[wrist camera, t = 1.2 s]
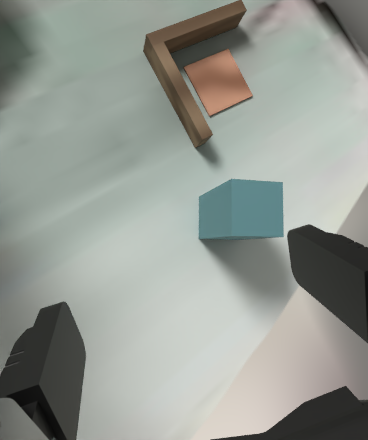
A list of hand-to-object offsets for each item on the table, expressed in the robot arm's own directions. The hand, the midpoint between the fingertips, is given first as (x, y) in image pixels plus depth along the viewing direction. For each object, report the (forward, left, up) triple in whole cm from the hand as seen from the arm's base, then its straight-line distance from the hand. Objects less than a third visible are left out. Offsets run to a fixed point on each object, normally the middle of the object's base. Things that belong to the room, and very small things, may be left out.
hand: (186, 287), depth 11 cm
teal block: (+5, +10, -25) cm, 27 cm away
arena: (-6, +23, -25) cm, 34 cm away
